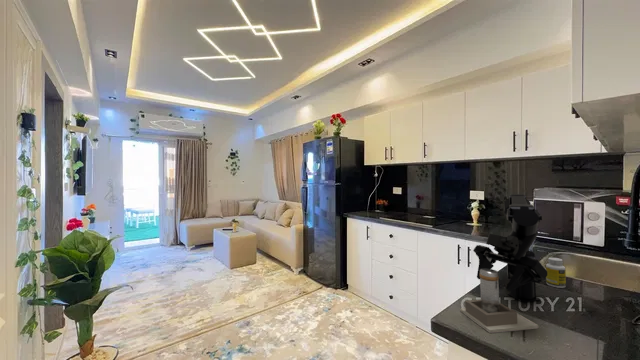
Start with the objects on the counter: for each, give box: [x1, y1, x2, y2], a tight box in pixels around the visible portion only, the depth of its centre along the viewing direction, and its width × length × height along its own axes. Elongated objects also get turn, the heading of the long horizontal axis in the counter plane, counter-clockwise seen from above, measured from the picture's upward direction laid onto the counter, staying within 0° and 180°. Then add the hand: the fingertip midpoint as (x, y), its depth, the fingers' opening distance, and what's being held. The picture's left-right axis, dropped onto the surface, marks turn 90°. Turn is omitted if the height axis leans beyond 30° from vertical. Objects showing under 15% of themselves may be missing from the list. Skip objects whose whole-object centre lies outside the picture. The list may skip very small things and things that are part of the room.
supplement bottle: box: [545, 257, 567, 289], centre depth 98 cm, size 5×5×10 cm
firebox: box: [459, 298, 539, 334], centre depth 76 cm, size 14×12×4 cm
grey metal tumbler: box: [479, 268, 500, 313], centre depth 75 cm, size 5×5×13 cm
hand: (491, 283), depth 76 cm, fingers open, 9 cm apart
